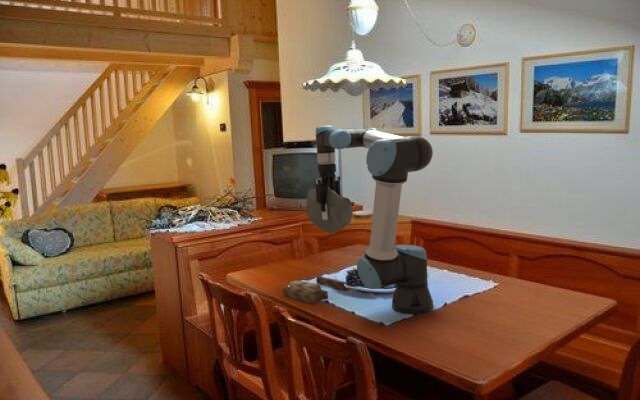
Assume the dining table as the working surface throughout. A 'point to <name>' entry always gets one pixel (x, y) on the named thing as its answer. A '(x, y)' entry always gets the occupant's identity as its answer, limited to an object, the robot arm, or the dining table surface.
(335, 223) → the rock
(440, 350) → the dining table surface
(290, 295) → the walnut rack
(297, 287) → the offcut stack
